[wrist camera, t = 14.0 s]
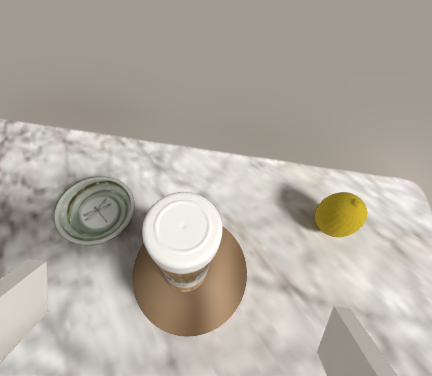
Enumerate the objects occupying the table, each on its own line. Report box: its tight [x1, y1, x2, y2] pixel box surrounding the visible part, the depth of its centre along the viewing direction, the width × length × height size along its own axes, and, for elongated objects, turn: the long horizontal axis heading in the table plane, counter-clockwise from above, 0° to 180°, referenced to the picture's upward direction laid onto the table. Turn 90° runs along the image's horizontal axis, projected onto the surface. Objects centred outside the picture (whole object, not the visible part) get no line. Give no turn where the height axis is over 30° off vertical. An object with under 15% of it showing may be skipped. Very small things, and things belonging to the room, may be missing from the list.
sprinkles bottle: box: [142, 192, 222, 292], centre depth 19 cm, size 5×5×13 cm
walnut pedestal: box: [133, 226, 247, 336], centre depth 27 cm, size 12×12×5 cm
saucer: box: [54, 177, 134, 246], centre depth 31 cm, size 10×10×2 cm
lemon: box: [315, 192, 367, 237], centre depth 30 cm, size 6×6×8 cm
